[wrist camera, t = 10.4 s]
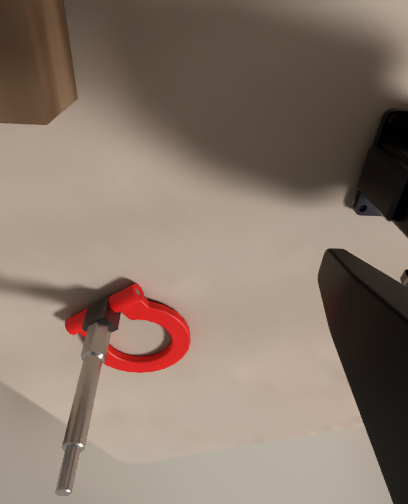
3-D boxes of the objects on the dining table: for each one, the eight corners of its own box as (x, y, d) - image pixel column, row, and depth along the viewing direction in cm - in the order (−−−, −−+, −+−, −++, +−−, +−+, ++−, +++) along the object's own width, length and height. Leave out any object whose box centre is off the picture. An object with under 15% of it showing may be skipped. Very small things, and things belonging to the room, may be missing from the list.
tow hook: (208, 339, 31) (143, 272, 26) (223, 516, 21) (120, 463, 16) (131, 372, 33) (58, 317, 28) (111, 547, 23) (-10, 510, 18)
